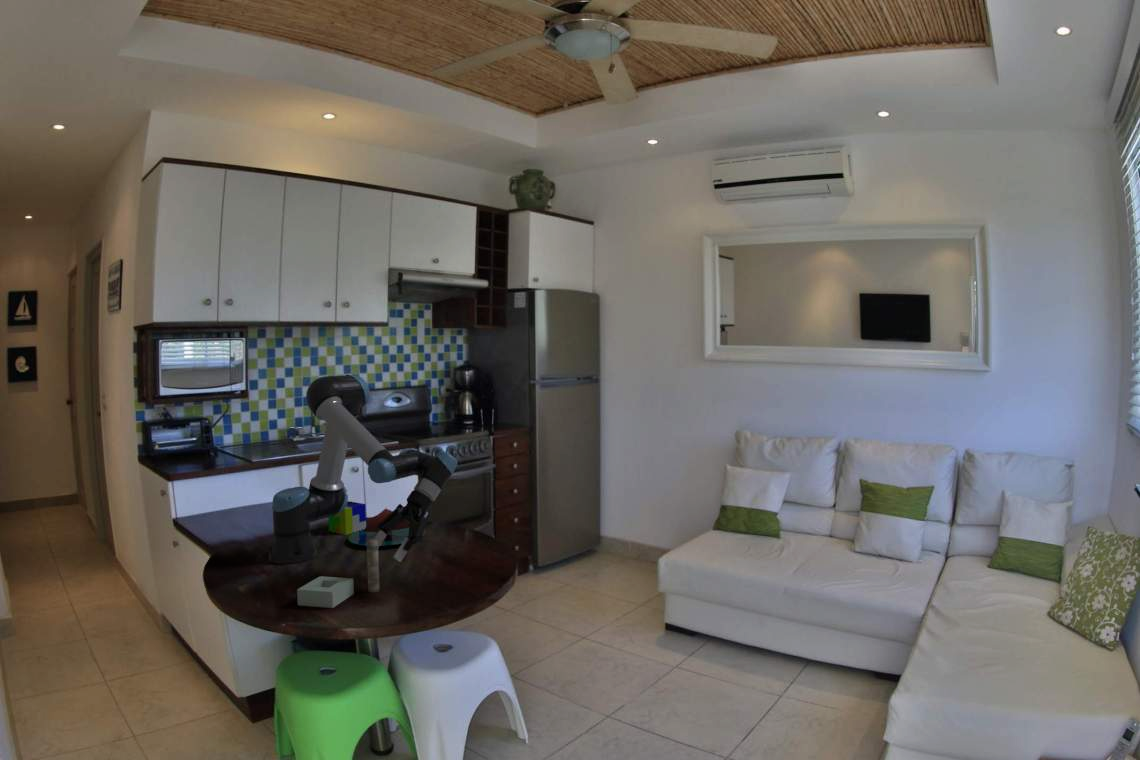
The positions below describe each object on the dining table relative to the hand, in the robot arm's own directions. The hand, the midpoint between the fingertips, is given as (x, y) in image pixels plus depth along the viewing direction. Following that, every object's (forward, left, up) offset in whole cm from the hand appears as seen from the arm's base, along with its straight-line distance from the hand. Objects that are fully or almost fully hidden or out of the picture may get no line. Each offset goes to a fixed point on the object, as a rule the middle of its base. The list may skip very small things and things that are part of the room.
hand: (383, 555), depth 202 cm
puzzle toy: (-46, +57, -10) cm, 74 cm away
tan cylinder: (-2, -2, -10) cm, 11 cm away
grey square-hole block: (-12, -11, -10) cm, 19 cm away
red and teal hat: (-24, +48, -10) cm, 55 cm away
